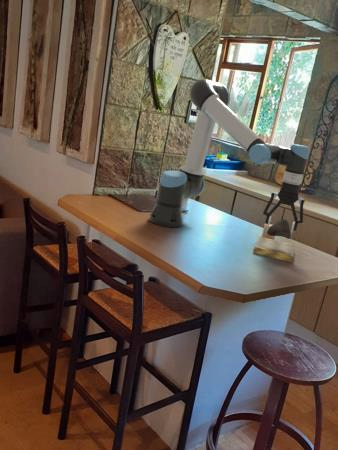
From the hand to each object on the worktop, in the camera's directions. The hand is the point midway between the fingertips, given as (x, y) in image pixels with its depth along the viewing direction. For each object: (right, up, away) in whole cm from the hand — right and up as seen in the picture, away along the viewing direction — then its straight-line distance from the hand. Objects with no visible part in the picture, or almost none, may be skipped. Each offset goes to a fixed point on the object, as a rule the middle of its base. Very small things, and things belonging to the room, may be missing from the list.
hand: (278, 234), depth 187 cm
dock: (-2, -7, +2) cm, 8 cm away
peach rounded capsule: (0, -3, +19) cm, 19 cm away
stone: (0, -1, -1) cm, 1 cm away
